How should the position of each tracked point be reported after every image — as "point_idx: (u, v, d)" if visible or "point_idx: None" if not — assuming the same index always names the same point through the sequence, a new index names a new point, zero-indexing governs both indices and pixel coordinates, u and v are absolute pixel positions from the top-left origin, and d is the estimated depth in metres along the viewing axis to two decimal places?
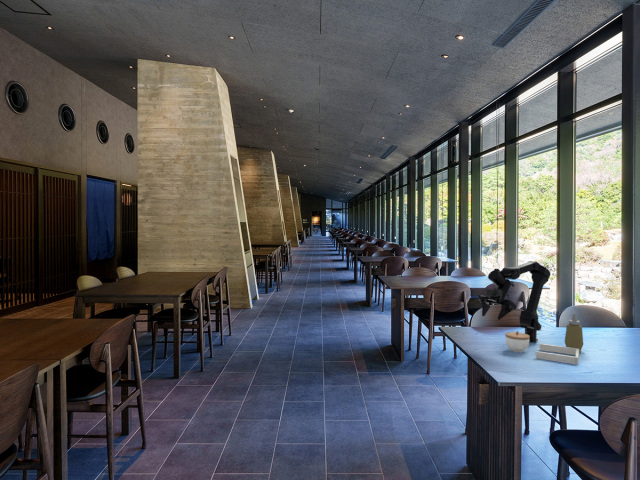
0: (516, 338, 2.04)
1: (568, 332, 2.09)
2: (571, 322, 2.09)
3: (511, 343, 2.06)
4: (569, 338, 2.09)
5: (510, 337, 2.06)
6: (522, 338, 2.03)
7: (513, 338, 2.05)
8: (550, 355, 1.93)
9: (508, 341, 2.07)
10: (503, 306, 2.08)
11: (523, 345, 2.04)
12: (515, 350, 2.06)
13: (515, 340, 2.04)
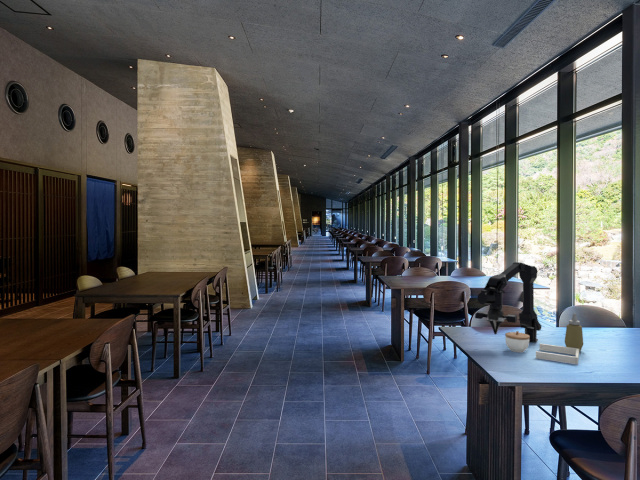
0: (516, 338, 2.04)
1: (568, 332, 2.09)
2: (571, 322, 2.09)
3: (511, 343, 2.06)
4: (569, 338, 2.09)
5: (510, 337, 2.06)
6: (522, 338, 2.03)
7: (513, 338, 2.05)
8: (550, 355, 1.93)
9: (508, 341, 2.07)
10: (498, 323, 2.11)
11: (523, 345, 2.04)
12: (515, 350, 2.06)
13: (515, 340, 2.04)
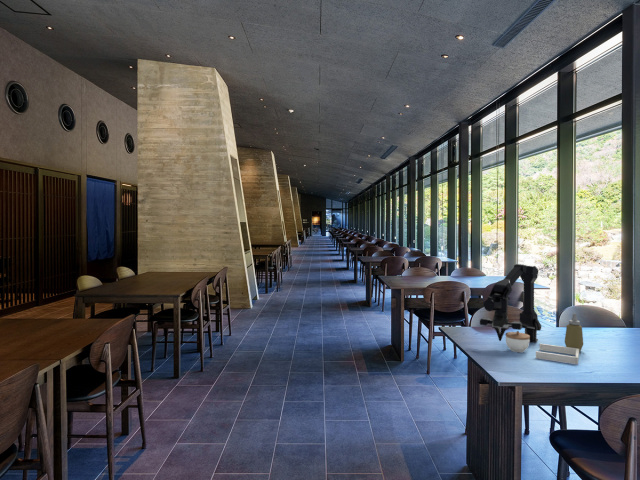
0: (516, 338, 2.04)
1: (568, 332, 2.09)
2: (571, 322, 2.09)
3: (511, 343, 2.05)
4: (569, 338, 2.09)
5: (510, 337, 2.06)
6: (522, 338, 2.03)
7: (513, 338, 2.05)
8: (550, 355, 1.93)
9: (508, 341, 2.07)
10: (503, 329, 2.10)
11: (523, 345, 2.04)
12: (515, 350, 2.06)
13: (515, 340, 2.04)
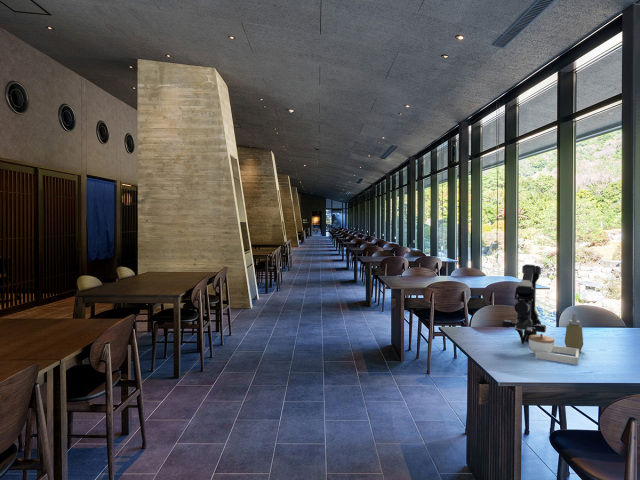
0: (541, 341, 1.98)
1: (568, 332, 2.09)
2: (571, 322, 2.09)
3: (535, 346, 2.00)
4: (569, 338, 2.09)
5: (534, 340, 2.00)
6: (547, 341, 1.97)
7: (537, 341, 1.99)
8: (550, 355, 1.93)
9: (532, 344, 2.01)
10: (526, 332, 2.04)
11: (548, 348, 1.98)
12: None
13: (540, 343, 1.98)
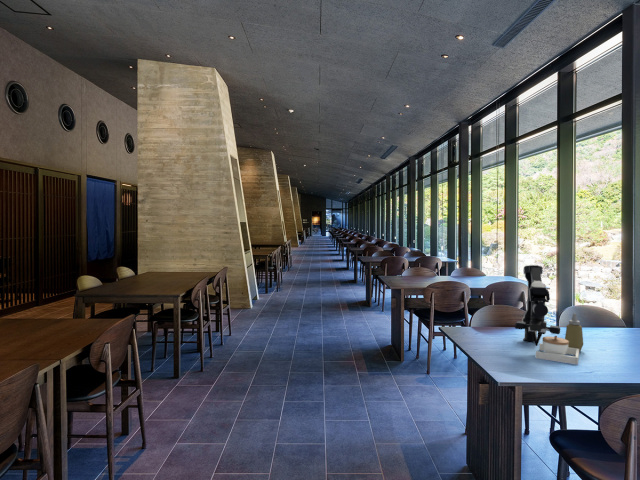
0: (555, 343, 1.95)
1: (568, 332, 2.09)
2: (571, 322, 2.09)
3: (549, 348, 1.97)
4: (569, 338, 2.09)
5: (548, 342, 1.97)
6: (562, 343, 1.94)
7: (552, 343, 1.96)
8: (550, 355, 1.93)
9: (546, 346, 1.98)
10: (540, 334, 2.01)
11: (562, 350, 1.95)
12: None
13: (554, 345, 1.95)
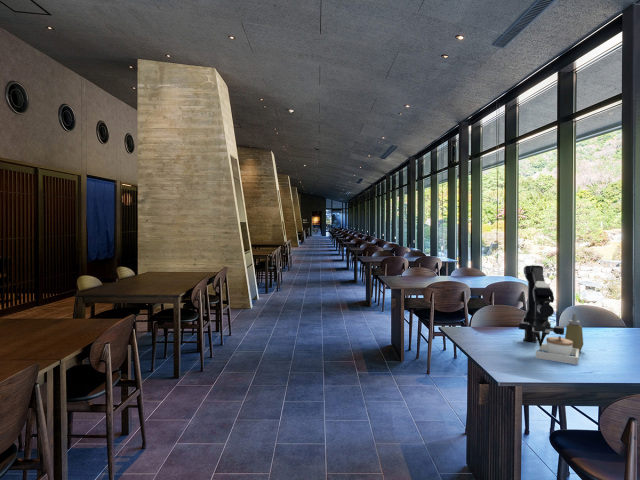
0: (559, 344, 1.94)
1: (568, 332, 2.09)
2: (571, 322, 2.09)
3: (554, 349, 1.96)
4: (569, 338, 2.09)
5: (553, 342, 1.96)
6: (566, 344, 1.93)
7: (556, 344, 1.95)
8: (550, 355, 1.93)
9: (550, 346, 1.97)
10: (544, 334, 2.00)
11: (566, 351, 1.94)
12: None
13: (558, 346, 1.94)
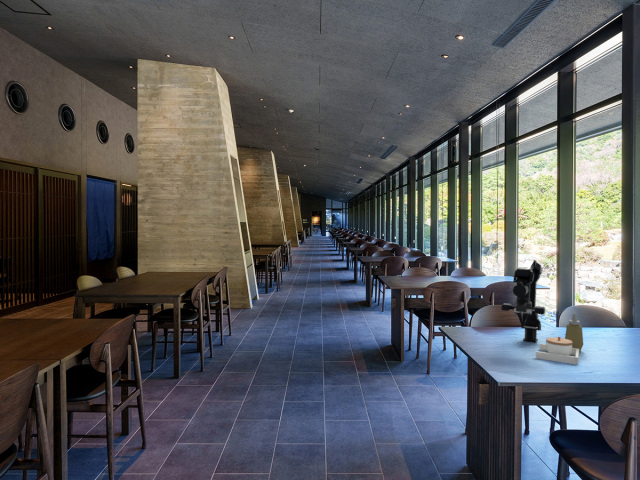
0: (559, 344, 1.94)
1: (568, 332, 2.09)
2: (571, 322, 2.09)
3: (553, 349, 1.96)
4: (569, 338, 2.09)
5: (552, 343, 1.96)
6: (565, 344, 1.94)
7: (556, 344, 1.95)
8: (550, 355, 1.93)
9: (550, 347, 1.97)
10: (526, 314, 2.05)
11: (566, 351, 1.94)
12: None
13: (558, 346, 1.94)
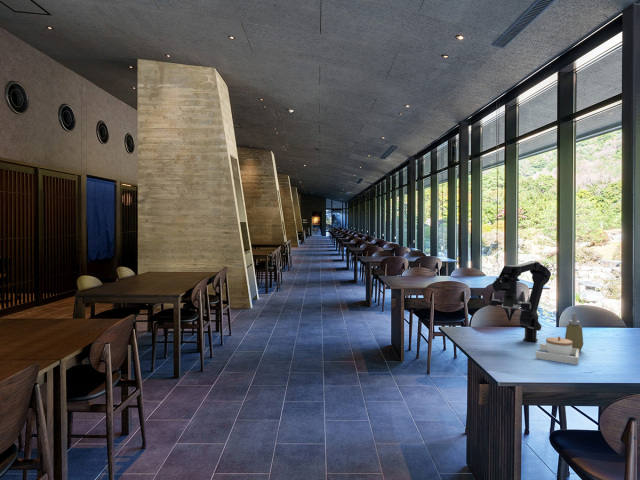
0: (559, 344, 1.94)
1: (568, 332, 2.09)
2: (571, 322, 2.09)
3: (553, 349, 1.96)
4: (569, 338, 2.09)
5: (552, 343, 1.96)
6: (565, 344, 1.94)
7: (555, 344, 1.95)
8: (550, 355, 1.93)
9: (550, 347, 1.97)
10: (513, 309, 2.16)
11: (566, 351, 1.94)
12: None
13: (558, 346, 1.94)
